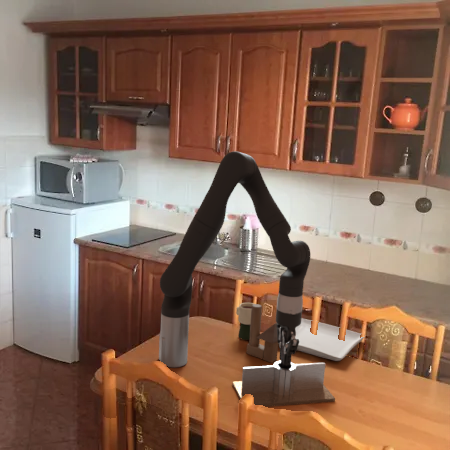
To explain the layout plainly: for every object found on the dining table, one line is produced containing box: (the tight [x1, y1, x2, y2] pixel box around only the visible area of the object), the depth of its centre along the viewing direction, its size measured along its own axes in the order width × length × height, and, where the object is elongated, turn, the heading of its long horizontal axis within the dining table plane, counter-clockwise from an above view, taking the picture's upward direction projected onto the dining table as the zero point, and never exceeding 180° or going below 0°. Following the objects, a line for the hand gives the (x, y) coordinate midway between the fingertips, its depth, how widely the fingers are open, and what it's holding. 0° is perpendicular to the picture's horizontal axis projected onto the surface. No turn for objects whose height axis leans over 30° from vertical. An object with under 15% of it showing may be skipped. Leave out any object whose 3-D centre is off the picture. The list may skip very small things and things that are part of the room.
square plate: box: [278, 317, 365, 362], centre depth 199 cm, size 27×27×4 cm
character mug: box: [235, 302, 254, 341], centre depth 200 cm, size 11×7×13 cm, turn 50°
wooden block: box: [246, 303, 279, 364], centre depth 184 cm, size 4×11×18 cm, turn 52°
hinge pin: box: [280, 341, 290, 369], centre depth 160 cm, size 3×3×10 cm
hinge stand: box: [232, 360, 336, 408], centre depth 161 cm, size 28×14×9 cm, turn 103°
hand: (285, 362), depth 160 cm, fingers closed on hinge pin, 2 cm apart
